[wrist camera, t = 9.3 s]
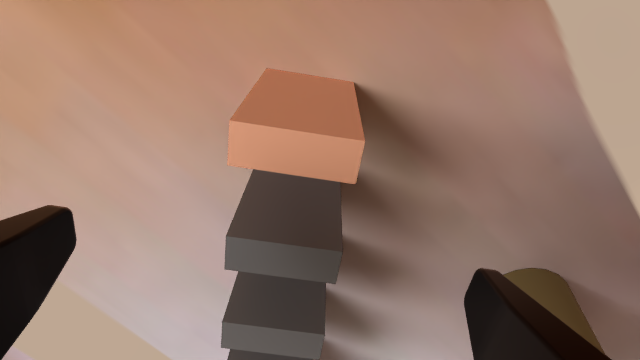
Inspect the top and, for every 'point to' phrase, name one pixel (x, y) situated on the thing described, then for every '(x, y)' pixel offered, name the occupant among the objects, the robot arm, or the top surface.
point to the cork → (554, 298)
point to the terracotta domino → (298, 127)
